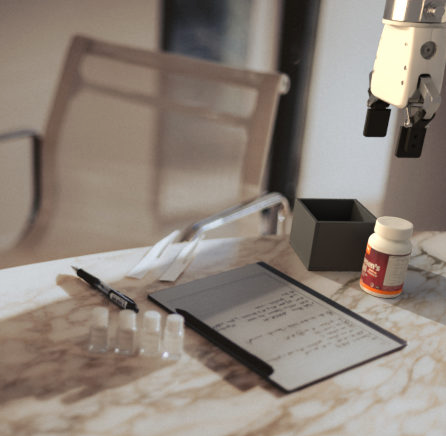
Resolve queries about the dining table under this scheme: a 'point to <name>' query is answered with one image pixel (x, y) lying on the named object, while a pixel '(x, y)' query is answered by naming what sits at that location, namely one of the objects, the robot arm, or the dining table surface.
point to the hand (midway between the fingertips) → (389, 146)
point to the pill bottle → (387, 257)
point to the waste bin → (331, 233)
